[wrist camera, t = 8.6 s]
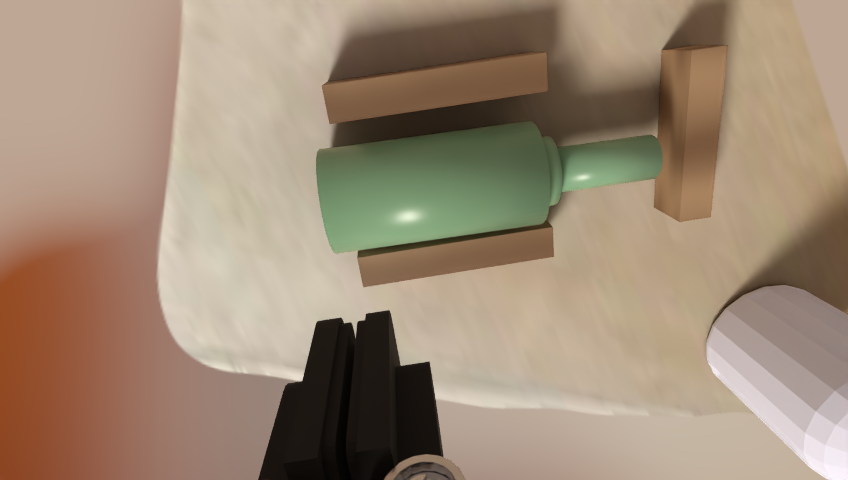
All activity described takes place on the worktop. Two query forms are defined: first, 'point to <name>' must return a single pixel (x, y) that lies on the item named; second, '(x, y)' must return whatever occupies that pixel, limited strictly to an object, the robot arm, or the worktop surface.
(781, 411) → the soap bottle
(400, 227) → the bottle
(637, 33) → the worktop surface
